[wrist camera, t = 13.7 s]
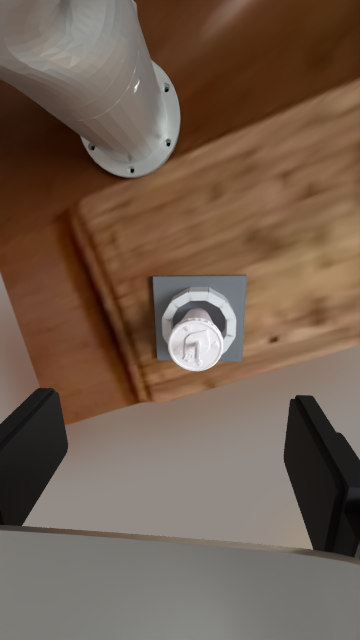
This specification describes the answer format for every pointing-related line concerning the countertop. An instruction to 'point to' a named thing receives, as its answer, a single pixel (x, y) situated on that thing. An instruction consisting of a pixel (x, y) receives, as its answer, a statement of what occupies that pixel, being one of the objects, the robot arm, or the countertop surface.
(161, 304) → the holder
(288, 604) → the robot arm
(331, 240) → the countertop surface
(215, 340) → the smoothie
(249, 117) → the countertop surface
